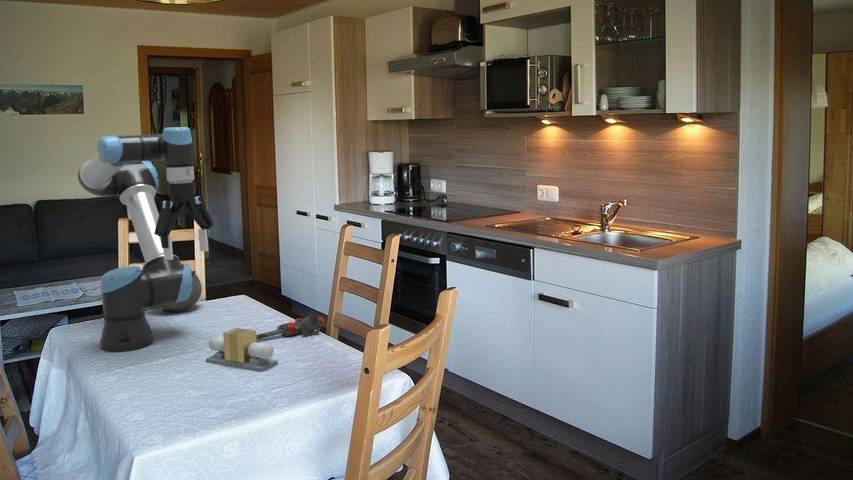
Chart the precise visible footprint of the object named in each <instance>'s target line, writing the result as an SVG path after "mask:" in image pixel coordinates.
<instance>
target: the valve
mask: <svg viewBox="0 0 853 480" xmlns="http://www.w3.org/2000/svg"><path fill="white" fill-rule="evenodd" d="M325 323H326V322H325V319H324V317H322V316H319V317H315V316H307V317H305V318H303V317H301V318H296V319H295V320H294V322H293V321H290V322H287V323H283V324H280V325H278V326H277V327H276V328H277V329H276V330H272V331H268V332H263V333H259V334H256V337H257V341H258V340H261V339H267V338H270V337H275V336H278V335H282V336H284V337H288V336H289V337H293V335H294V336H296V334H299V333H301V334H303V336H305V337H307V338H309V337H308V336H310V337H313V336H312V335H315V336H317V335H318V334H319V333H320V330H321V328H322V327H324V325H325ZM315 330H316V331H315ZM316 334H317V335H316Z"/></svg>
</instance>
